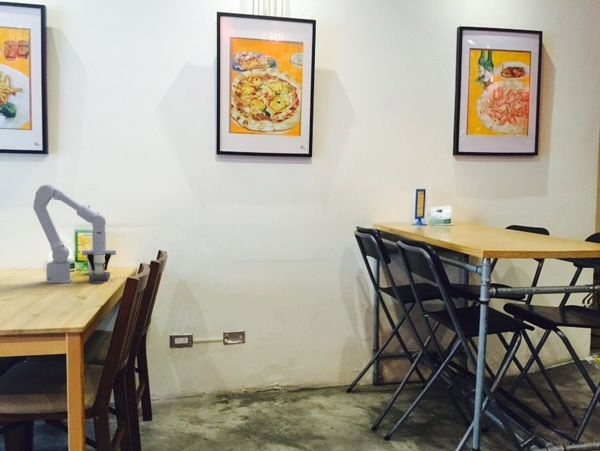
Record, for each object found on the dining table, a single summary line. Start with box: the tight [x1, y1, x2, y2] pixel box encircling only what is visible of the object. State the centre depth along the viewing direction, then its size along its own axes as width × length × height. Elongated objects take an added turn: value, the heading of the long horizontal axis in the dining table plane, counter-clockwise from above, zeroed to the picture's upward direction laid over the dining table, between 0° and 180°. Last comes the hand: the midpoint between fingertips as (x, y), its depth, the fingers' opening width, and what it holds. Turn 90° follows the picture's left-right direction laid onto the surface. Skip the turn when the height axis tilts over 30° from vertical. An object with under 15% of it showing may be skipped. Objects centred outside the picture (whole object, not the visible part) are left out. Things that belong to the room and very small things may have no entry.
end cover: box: [94, 261, 106, 275], centre depth 235 cm, size 5×5×7 cm
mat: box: [89, 281, 105, 285], centre depth 228 cm, size 6×6×1 cm
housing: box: [88, 271, 111, 283], centre depth 236 cm, size 8×8×3 cm
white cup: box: [86, 253, 105, 275], centre depth 251 cm, size 8×8×10 cm
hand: (99, 270), depth 235 cm, fingers closed on end cover, 5 cm apart
